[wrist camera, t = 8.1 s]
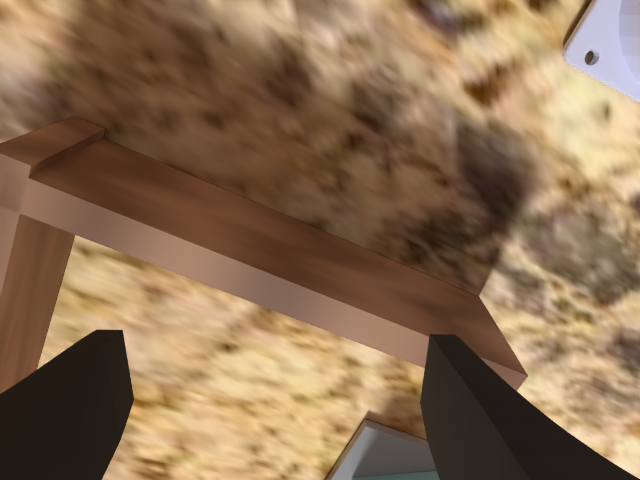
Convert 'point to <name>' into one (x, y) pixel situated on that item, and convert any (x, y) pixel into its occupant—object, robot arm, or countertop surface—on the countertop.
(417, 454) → the tile
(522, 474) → the robot arm
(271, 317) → the countertop surface
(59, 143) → the walnut screen
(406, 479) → the light blue cube
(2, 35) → the countertop surface
